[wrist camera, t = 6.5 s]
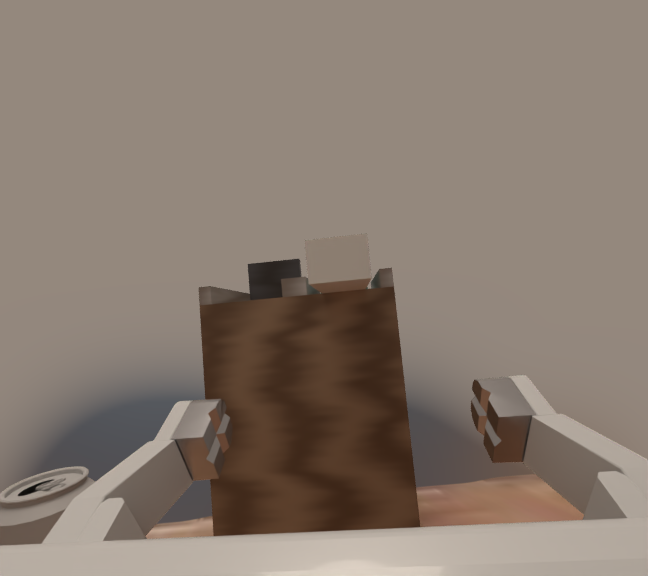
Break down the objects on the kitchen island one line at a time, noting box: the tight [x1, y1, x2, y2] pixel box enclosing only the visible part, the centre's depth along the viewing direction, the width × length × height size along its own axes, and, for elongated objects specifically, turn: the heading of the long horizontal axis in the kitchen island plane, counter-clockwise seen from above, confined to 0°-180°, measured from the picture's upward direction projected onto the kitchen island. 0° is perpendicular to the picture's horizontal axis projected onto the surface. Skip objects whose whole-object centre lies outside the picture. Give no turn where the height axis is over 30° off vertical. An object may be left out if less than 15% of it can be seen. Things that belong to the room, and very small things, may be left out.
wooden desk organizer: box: [199, 259, 420, 536], centre depth 32 cm, size 16×12×31 cm
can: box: [0, 467, 95, 546], centre depth 29 cm, size 8×8×12 cm
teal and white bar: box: [305, 234, 372, 294], centre depth 29 cm, size 4×20×4 cm, turn 175°
